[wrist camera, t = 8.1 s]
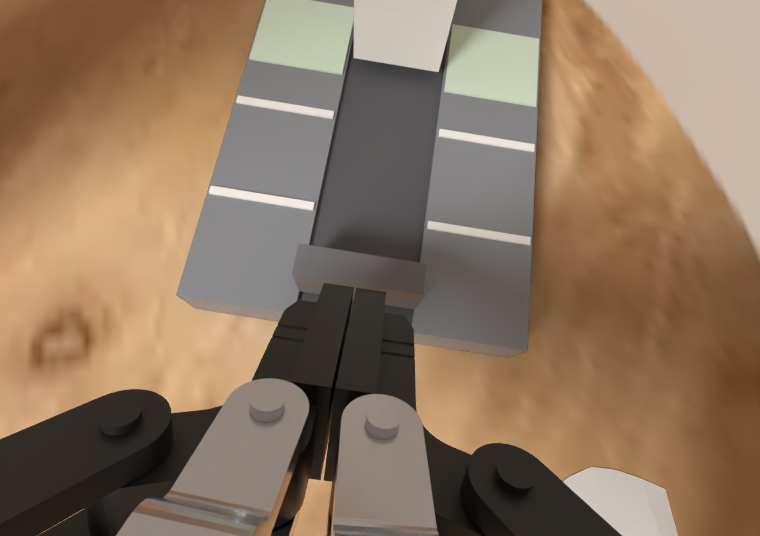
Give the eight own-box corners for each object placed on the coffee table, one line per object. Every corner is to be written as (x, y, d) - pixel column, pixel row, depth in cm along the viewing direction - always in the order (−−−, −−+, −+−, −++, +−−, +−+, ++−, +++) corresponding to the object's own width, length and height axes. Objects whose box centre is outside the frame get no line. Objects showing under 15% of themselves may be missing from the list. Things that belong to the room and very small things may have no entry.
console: (195, 308, 17) (151, 277, 13) (285, -8, 22) (271, -95, 18) (507, 357, 17) (552, 341, 13) (525, 33, 22) (562, -46, 18)
